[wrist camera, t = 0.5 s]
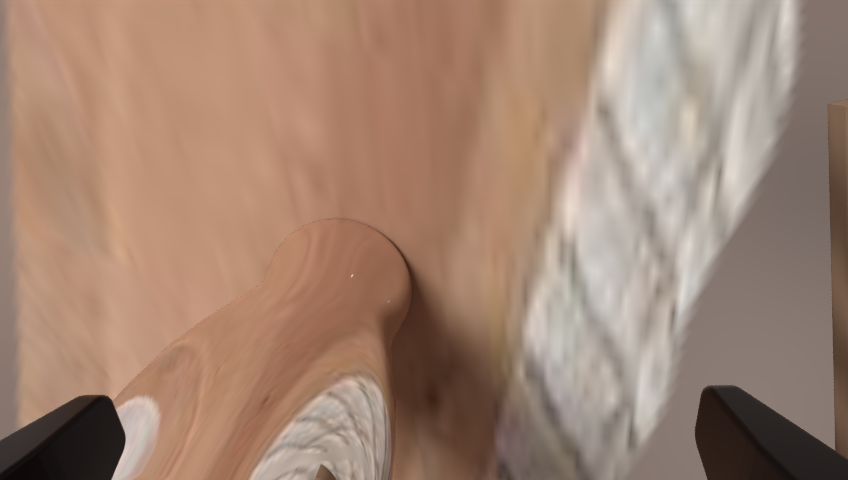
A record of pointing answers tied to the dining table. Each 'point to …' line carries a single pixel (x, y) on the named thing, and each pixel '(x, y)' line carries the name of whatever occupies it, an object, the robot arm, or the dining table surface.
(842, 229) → the walnut board
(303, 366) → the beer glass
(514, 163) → the dining table surface
